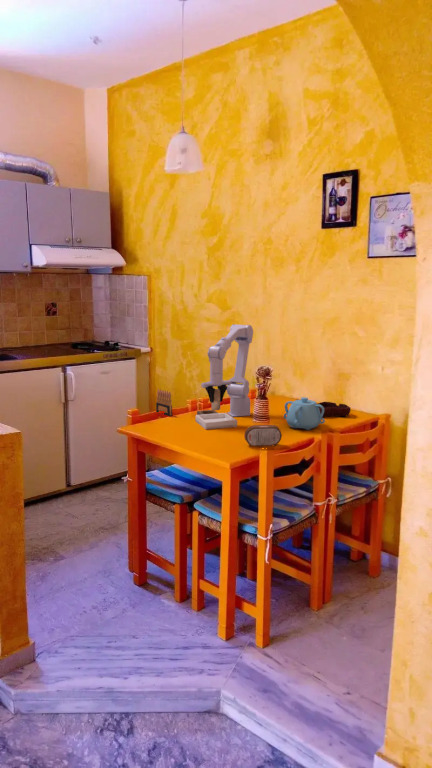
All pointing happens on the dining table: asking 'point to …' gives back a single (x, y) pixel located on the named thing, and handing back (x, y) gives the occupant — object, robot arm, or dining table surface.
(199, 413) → the frame
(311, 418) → the decorative pot
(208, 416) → the tray
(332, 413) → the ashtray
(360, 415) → the dining table surface
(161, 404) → the ammunition clip
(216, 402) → the dowel
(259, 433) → the tin
